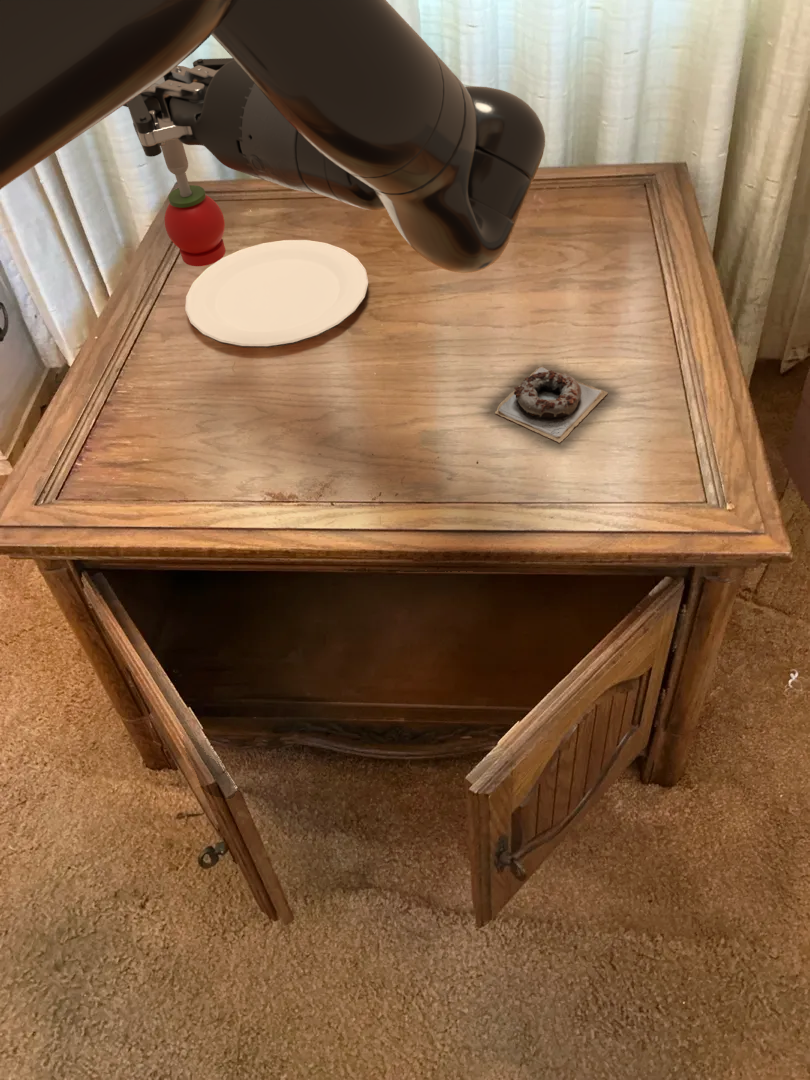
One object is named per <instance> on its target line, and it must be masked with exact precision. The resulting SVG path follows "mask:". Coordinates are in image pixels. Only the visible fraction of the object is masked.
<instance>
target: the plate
mask: <svg viewBox="0 0 810 1080" xmlns="http://www.w3.org/2000/svg"><path fill="white" fill-rule="evenodd" d="M368 288H369V278H368V273H367V269H366V268H365V266H364V265H363V264H362V262H361V261H360V260H359V258H358V257H357V256H356V255H353V254H352V253H350V252H349V251H347V250H345V249H344V248H342V247H338V246H337V245H333V244H330V243H327V242H323V241H317V240H309V239H283V240H275V241H269V242H262V243H259V244H254V245H252V246H248V247H245V248H241V249H239V250H237V251H235V252H233V253H230V254H228V255H226V256H223V257H222V258H221V259H220V260H219V261H217V262H215V263H213V264H210V265H209V266H208V267H207V268H205V269H204V270H203V271H202V272H201V274H200V275H199V276H198V277H197V278H195V280H194V281H193V282H192V283H191V286H190V288H189V290H188V292H187V293H186V296H185V306H184V308H185V309H184V311H185V313H186V316H187V318H188V320H189V323H190V324H191V326H193V327H194V328H195V329H196V330H197V331H198V332H199V333H200V334H201V335H203V336H204V337H207V338H209V339H211V340H213V341H215V342H218V343H220V344H223V345H229V346H234V347H238V348H239V347H240V348H243V349H245V348H247V349H251V348H252V349H253V348H255V349H256V348H257V349H268V348H276V347H282V346H289V345H290V346H291V345H295V344H299V343H301V342H304V341H307V340H311V339H314V338H317V337H319V336H321V335H323V334H326V333H327V332H328V331H331V330H333V329H334V328H336V327H338V326H340V325H341V324H342V323H343V322H345V321H346V320H347V319H348V318H350V317H351V316H352V315H353V314H354V313H355V312H356V311H357V310H358V308H359V307H360V306H361V304H362V303H363V301H364V300H365V299H366V295H367V291H368Z"/></svg>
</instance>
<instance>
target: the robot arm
mask: <svg viewBox="0 0 810 1080" xmlns="http://www.w3.org/2000/svg"><path fill="white" fill-rule="evenodd" d="M211 36H212V38H214V40H216V41H217V43H218V44H219V45H220V47H222V48H223V50H225V52H227V54H229V55H230V57H226V58H225V57H224V58H221V57H220V58H198V59H196V60H194V61H193V62H192V65H193V67H191V68H190V67H187V66H184V65H180V64H181V63H183V62H184V61H185V60H186V59H187V58H189V57H190V56H191V55H192V54H193V53H194V52H195V51H197V50H198V48H199V47H201V46H202V45H203V44H204V43H205V42H206V41H207V40H208V39H209V38H210V37H211ZM163 76H164V80H165V82H163V83H161V84H157V83H156V82H157V81H158V80H160V79H161V78H162V77H163ZM123 107H125V108H127V109H128V111H129V113H130V116H131V117H130V118H131V120H132V125H133V128H134V131H135V134H136V135H137V138H138V140H139V141H138V142H139V143H140V145H141V148H142V149H143V152H144V155H145V156H146V157H150V158H151V157H152V158H153V157H157V156H159V155H161V154H162V153H163V152H162V149H161V146H164V145H165V142H166V141H170V140H174V139H179V141H180V142H182V143H183V145H186V146H203V147H204V148H206V149H207V150H208V151H209V152H210V153H211V155H212V156H214V157H215V158H216V160H218V161H219V162H220V163H221V164H222V165H223V166H225V167H227V168H228V169H231V170H234V171H236V172H239V173H242V174H244V175H245V174H246V175H249V176H251V177H254V178H256V179H260V180H263V181H266V182H270V183H272V184H275V185H278V186H280V187H284V188H287V189H290V190H294V191H298V192H303V193H312V194H316V195H320V196H323V197H326V198H329V199H333V200H335V201H338V202H341V203H344V204H346V205H348V206H353V207H356V208H359V209H362V210H366V211H382V210H385V211H386V212H387V214H388V216H389V218H390V220H391V221H392V223H393V225H394V227H395V228H396V230H397V231H398V232H399V234H400V235H401V236H402V238H403V239H404V241H406V243H407V244H408V245H409V246H410V247H411V248H412V249H413V250H414V251H415V252H416V253H417V254H418V255H419V256H421V257H422V258H423V259H425V260H426V261H428V262H429V263H431V264H433V266H436V267H438V268H441V269H443V270H446V271H448V272H453V273H458V274H473V273H477V272H481V271H483V270H485V269H487V268H489V267H490V266H492V265H494V263H496V261H498V260H499V259H500V258H501V256H502V255H503V254H504V252H505V250H506V248H507V247H508V244H509V242H510V239H511V237H512V235H513V232H514V230H515V227H516V224H517V222H518V219H519V217H520V214H521V213H522V209H523V207H524V204H525V202H526V199H527V196H528V194H529V192H530V189H531V187H532V183H533V182H534V179H535V177H536V174H537V172H538V169H539V168H540V164H541V161H542V159H543V157H544V152H545V147H546V132H545V129H544V125H543V123H542V120H541V119H540V117H539V116H538V114H537V112H536V111H535V110H534V109H533V108H532V107H531V106H530V105H529V104H528V103H527V102H526V101H524V100H523V99H522V98H520V97H519V96H517V95H516V94H513V93H511V92H509V91H506V90H503V89H499V88H495V87H493V88H492V87H489V86H475V85H474V86H472V85H468V86H467V85H466V86H465V85H464V83H463V82H462V80H461V79H459V77H458V76H457V75H456V74H455V73H454V72H453V71H452V70H451V69H450V68H449V66H447V64H446V63H445V61H443V60H442V58H441V57H440V56H438V54H437V53H436V52H435V51H434V50H433V49H432V48H431V46H429V44H428V43H427V42H426V41H425V40H424V39H423V38H422V37H421V36H420V34H419V33H418V32H416V30H415V29H414V28H413V27H412V26H411V25H410V24H409V23H408V22H407V20H405V18H403V17H402V16H401V14H399V12H398V11H397V10H396V9H395V8H394V7H393V6H392V5H391V4H390V3H389V1H388V0H0V191H1V190H2V189H4V188H5V187H7V186H8V185H9V184H11V183H13V182H14V181H15V180H16V179H18V178H19V177H21V176H22V175H24V174H25V173H27V172H28V171H30V170H31V169H32V168H34V167H35V166H37V165H38V164H40V163H41V162H42V161H44V160H46V159H47V158H49V157H50V156H52V155H53V154H54V153H56V152H57V151H59V150H61V148H63V147H65V146H66V145H68V144H69V143H70V142H72V141H73V140H75V139H77V138H78V137H80V136H81V135H82V134H84V133H85V132H87V131H88V130H90V129H92V128H93V127H94V126H95V125H97V124H98V123H100V122H101V121H103V120H104V119H106V118H108V117H109V116H110V115H111V114H113V113H115V112H116V111H117V110H119V109H120V108H123Z"/></svg>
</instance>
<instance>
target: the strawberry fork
mask: <svg viewBox="0 0 810 1080" xmlns="http://www.w3.org/2000/svg"><path fill="white" fill-rule="evenodd" d="M163 82H165V80H164V76H163V77H162V78H161V79H160V80H158V81H157V82H156V83H157V84H161V83H163ZM160 147H161V150H162V152H161V153H162V155H163V159H164V162H165V166H166V168H167V169H168V171H169V172H170V174H173V175H174V176H175V180H176V183H177V186H178V188H175V189H173V190H172V191H171V192H170V193H169V194H168V196H167V200H168V203H169V204H168V206H167V207H166V209H165V213H164V227H165V228H164V229H165V231H166V234H167V237H168V238H169V239H170V240H171V242H172V243H173V244H174V245H175V246H176V247H177V248H178V249H179V253H180V255H181V258H182V261H183V263H185V264H186V265H187V266H191V267H205V266H211V265H213V264H214V263H216V262H217V261H219V260H220V259H221V258H224V257H225V254H226V251H227V250H226V246H225V242H224V239H223V237H224V234H225V228H226V227H225V226H226V223H225V217H224V214H223V212H222V209H221V208H220V206H219V205H218V203H217V202H216V201H215V200H214V199H213V198H211V197H210V196H209V195H207V193H206V190H205V189H204V188H203V187H202V186H200V185H195V184H191V185H190V183H189V180H188V177H187V174H186V172H187V171H188V169H189V161H188V156H187V153H186V150H185V147H184V144H183V143H182V142H180V141H179V139H174V140H170V141H166V142H165V145H164V146H160Z"/></svg>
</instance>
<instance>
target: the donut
mask: <svg viewBox="0 0 810 1080" xmlns="http://www.w3.org/2000/svg"><path fill="white" fill-rule="evenodd" d="M513 389H514V390H513V391H511V393H509V394H508V396H506V397H505V399H503V400H502V401H501V402H500V403H499V404H498V406H497V409H496V410H495V412H494V414H496V415H498V416H500V417H502V418H505V419H507V420H510V421H511V422H513V423H516V424H517V425H520V426H522V427H525V428H526V429H527V430H530V431H533V432H535V433H537V434H540V435H541V436H543V437H546V438H548V439H549V440H552V441H555V442H557V443H559V444H560V443H561V442H563V441H564V439H566V438H567V436H569V434H571V432H572V431H573V430H574V428H575V427H577V426H578V425H579V424H580V423H581V422H582V420H583V419H585V418H586V417H587V416H588V415H589V413H590V412H591V411H593V409H594V408H595V407H596V406H597V405H598V404H599V403H600V402H601V401H602V399H604V398H605V396H607V394H609V392H608V391H606V390H604V389H600V388H597V387H595V386H592V385H589V384H587V383H583V382H581V381H578V380H576V379H575V378H574V377H572V376H571V375H569V374H567V373H562V372H557V371H554V370H552V369H550V370H549V369H547V368H545V367H544V366H537V367H536V368H535V370H534V371H533V372H531V374H530V375H529V376H527V377H525V378H524V379H523V381H522V382H520V385H519V386H514V387H513Z"/></svg>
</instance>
